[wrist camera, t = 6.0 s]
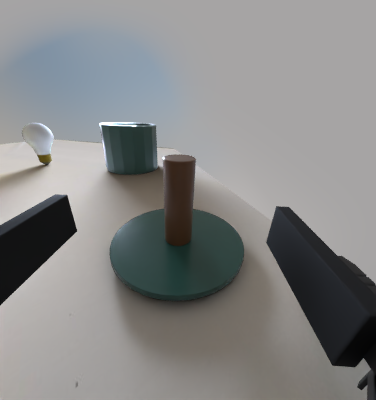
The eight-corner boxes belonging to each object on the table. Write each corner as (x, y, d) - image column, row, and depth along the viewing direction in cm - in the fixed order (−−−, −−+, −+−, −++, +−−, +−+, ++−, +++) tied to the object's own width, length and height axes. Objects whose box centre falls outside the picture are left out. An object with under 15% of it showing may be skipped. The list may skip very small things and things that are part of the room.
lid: (240, 223, 24) (253, 150, 20) (245, 327, 12) (283, 200, 8) (147, 209, 27) (142, 142, 23) (77, 284, 15) (39, 171, 11)
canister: (164, 163, 52) (163, 124, 47) (144, 176, 41) (141, 126, 36) (124, 160, 54) (120, 122, 50) (96, 171, 43) (87, 123, 38)
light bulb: (61, 160, 51) (51, 122, 46) (58, 166, 46) (46, 123, 42) (35, 162, 48) (22, 121, 44) (29, 167, 43) (14, 123, 39)
